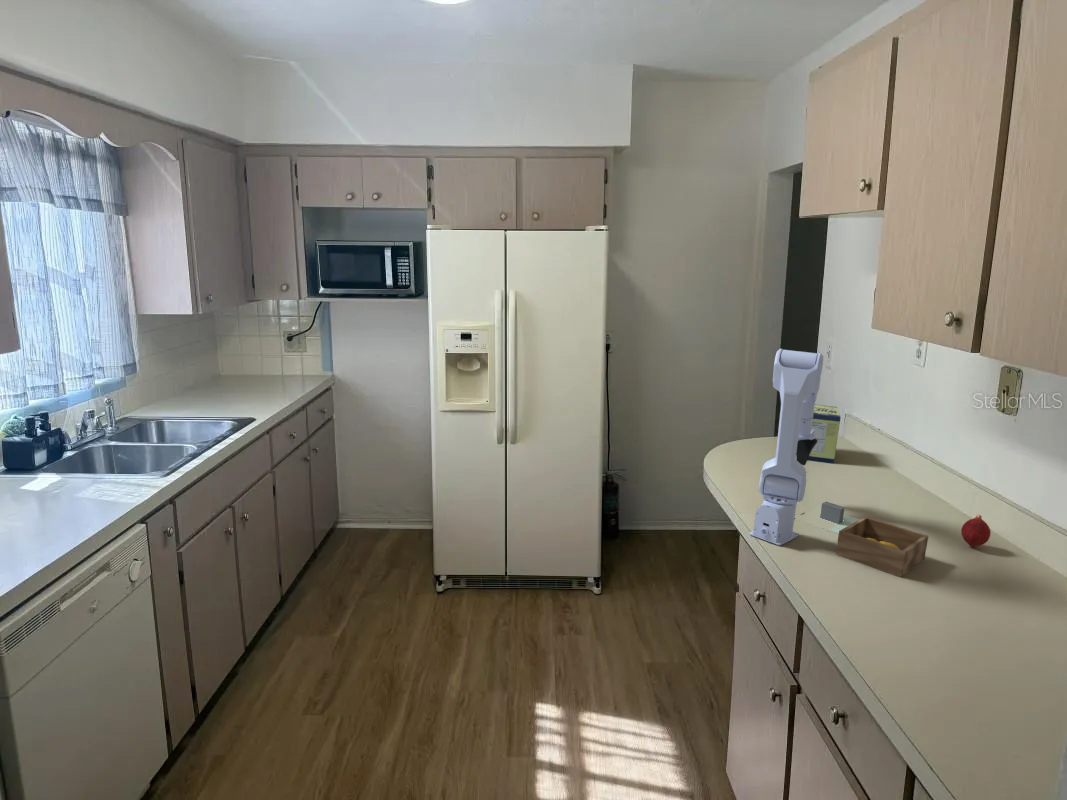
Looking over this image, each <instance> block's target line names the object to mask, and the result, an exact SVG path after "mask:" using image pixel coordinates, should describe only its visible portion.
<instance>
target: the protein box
mask: <svg viewBox="0 0 1067 800" xmlns="http://www.w3.org/2000/svg"><path fill="white" fill-rule="evenodd" d="M840 423H841V415H840V411H839V409H838V407H837V406H832V405H831V406H830V405H821V404H815V406H814V413H813V421H812V428H811V429H813V430H815V435H814V436H815V438H814V439H817V443H816V445H815V446H814V447H813V449H812V451H811V453H810V455H809V457H808V460H807V461H813V462H814V461H815V462H821V463H830V464H834V463H835V457H836V450H837V444H838V436H839V430H840Z"/></svg>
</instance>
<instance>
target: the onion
mask: <svg viewBox="0 0 1067 800" xmlns="http://www.w3.org/2000/svg"><path fill="white" fill-rule="evenodd" d="M982 517H983V516H982V515H980V514H976V516H975V517H974V518H970V519H968V520H967V521H965V522H964V524H963V525H962V526H961V531H960V532H961V536H962V539H963V541H965V543H966V544H968V545H969V546H970V547H971V548H976V547H979V546H983V545H985V544H986V543H987V542H989V540H990V538H991V529H990V526H989V525H988V524H987V522H986V521H985V520H983V518H982Z"/></svg>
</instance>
